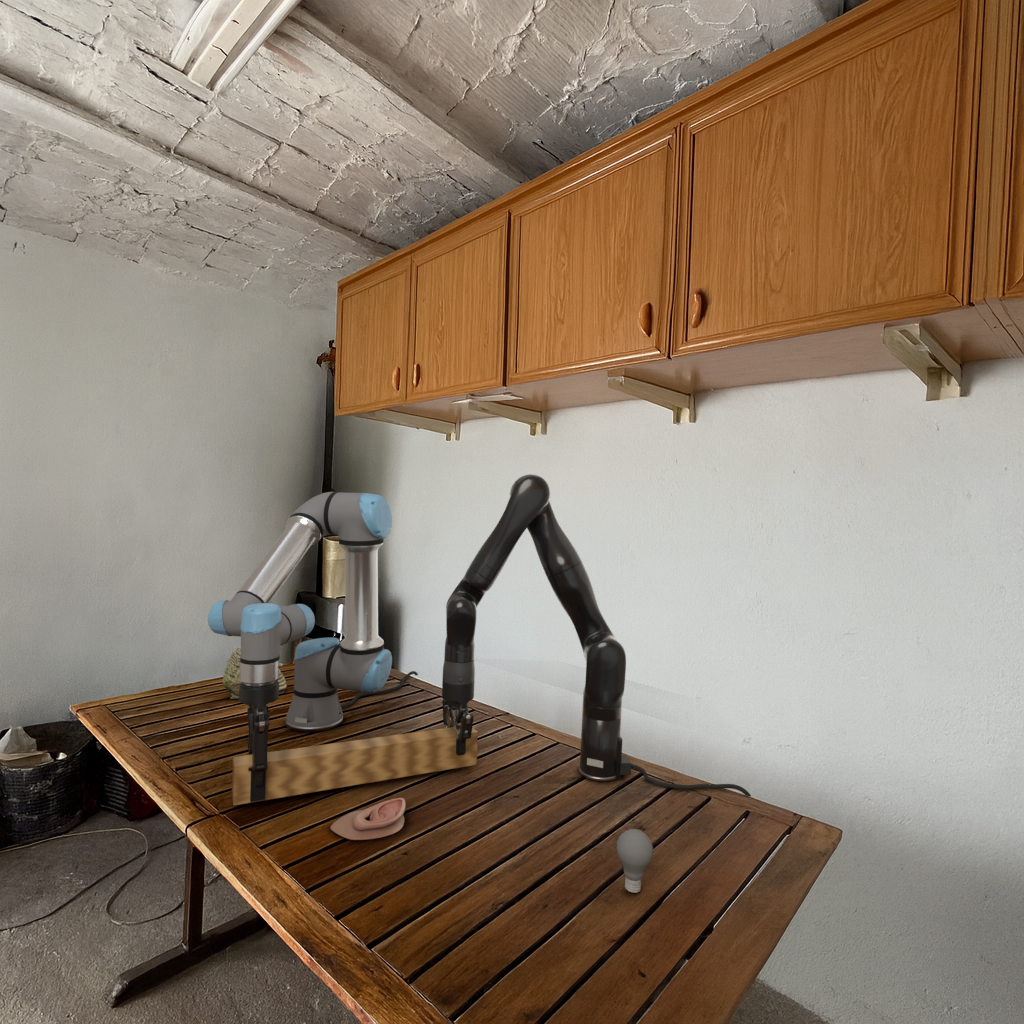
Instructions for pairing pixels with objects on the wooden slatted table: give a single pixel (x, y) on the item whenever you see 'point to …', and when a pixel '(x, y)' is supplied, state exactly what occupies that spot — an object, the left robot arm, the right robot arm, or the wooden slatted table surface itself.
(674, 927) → the wooden slatted table surface
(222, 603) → the left robot arm
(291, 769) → the post
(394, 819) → the anatomical model
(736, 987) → the wooden slatted table surface
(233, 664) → the fossil
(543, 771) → the wooden slatted table surface
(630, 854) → the light bulb
